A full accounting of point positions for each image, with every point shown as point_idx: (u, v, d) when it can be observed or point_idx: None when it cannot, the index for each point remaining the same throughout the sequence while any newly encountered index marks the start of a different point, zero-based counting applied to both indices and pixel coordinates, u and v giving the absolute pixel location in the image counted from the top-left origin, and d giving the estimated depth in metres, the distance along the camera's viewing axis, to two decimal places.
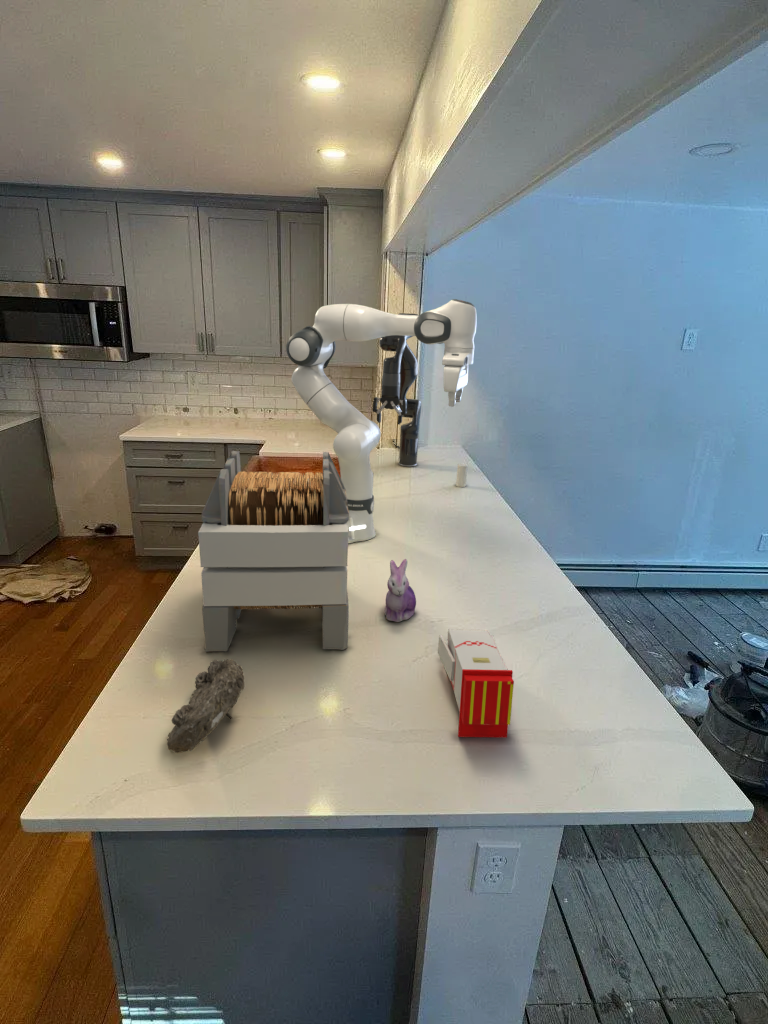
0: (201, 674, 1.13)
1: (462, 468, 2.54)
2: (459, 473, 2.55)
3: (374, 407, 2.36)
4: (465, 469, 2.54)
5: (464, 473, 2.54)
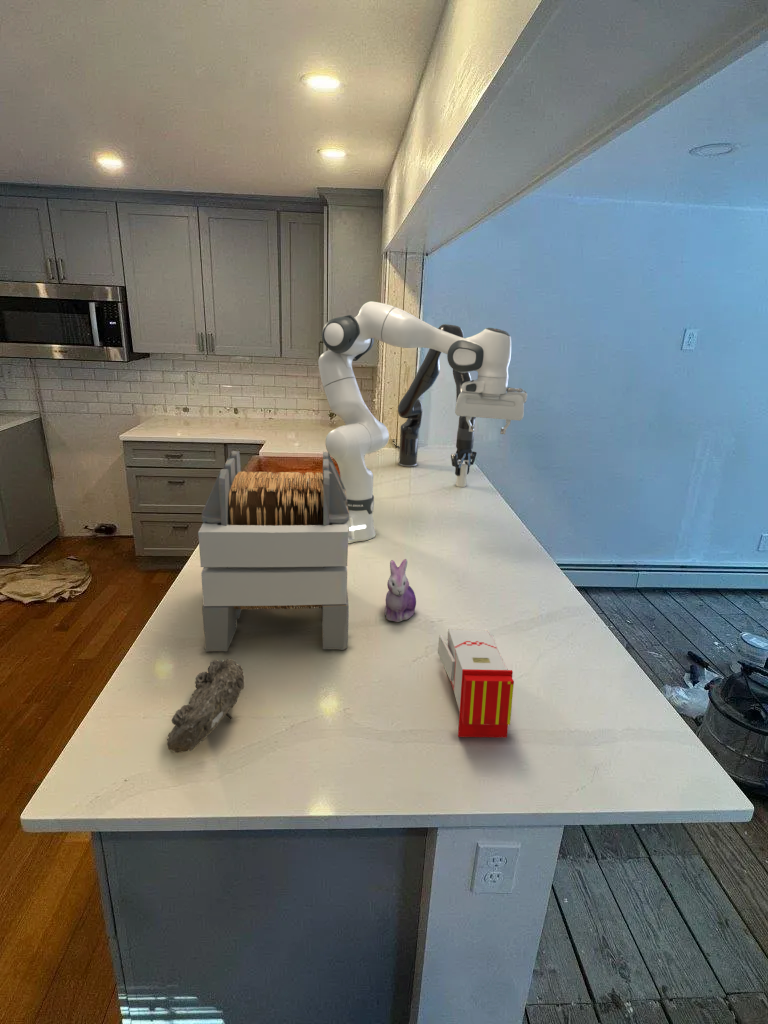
0: (201, 674, 1.13)
1: (462, 468, 2.54)
2: None
3: None
4: (465, 469, 2.54)
5: (464, 473, 2.54)
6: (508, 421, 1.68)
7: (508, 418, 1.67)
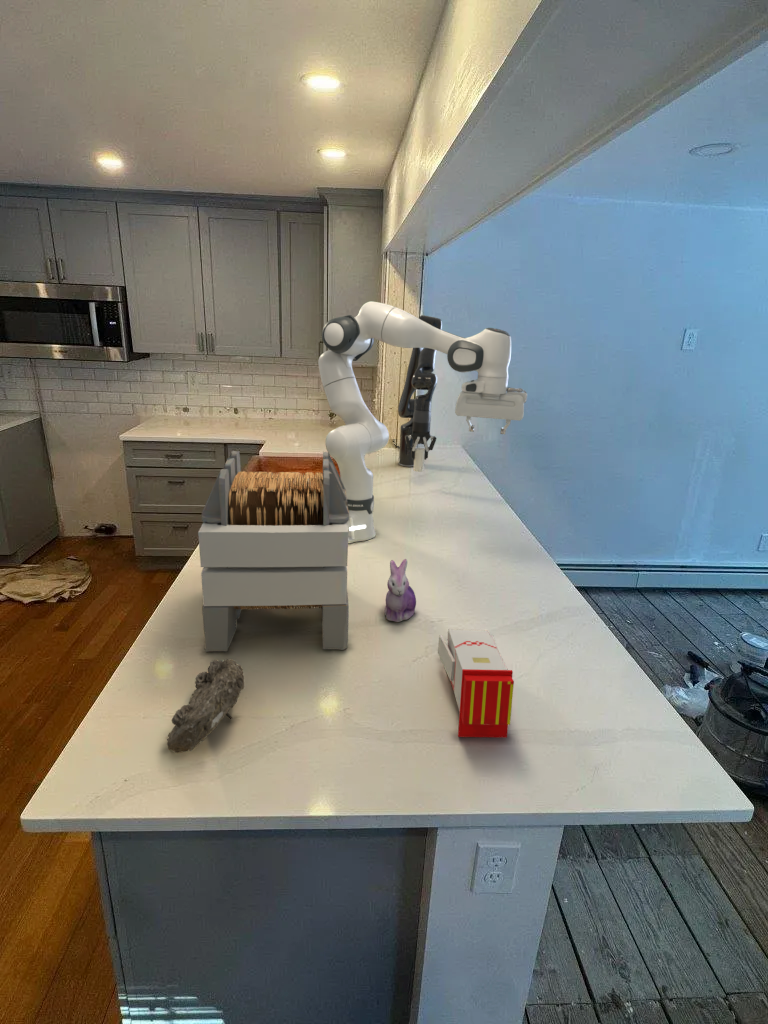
0: (201, 674, 1.13)
1: (416, 452, 2.45)
2: None
3: None
4: (420, 453, 2.45)
5: (418, 457, 2.45)
6: (508, 421, 1.68)
7: (508, 418, 1.67)
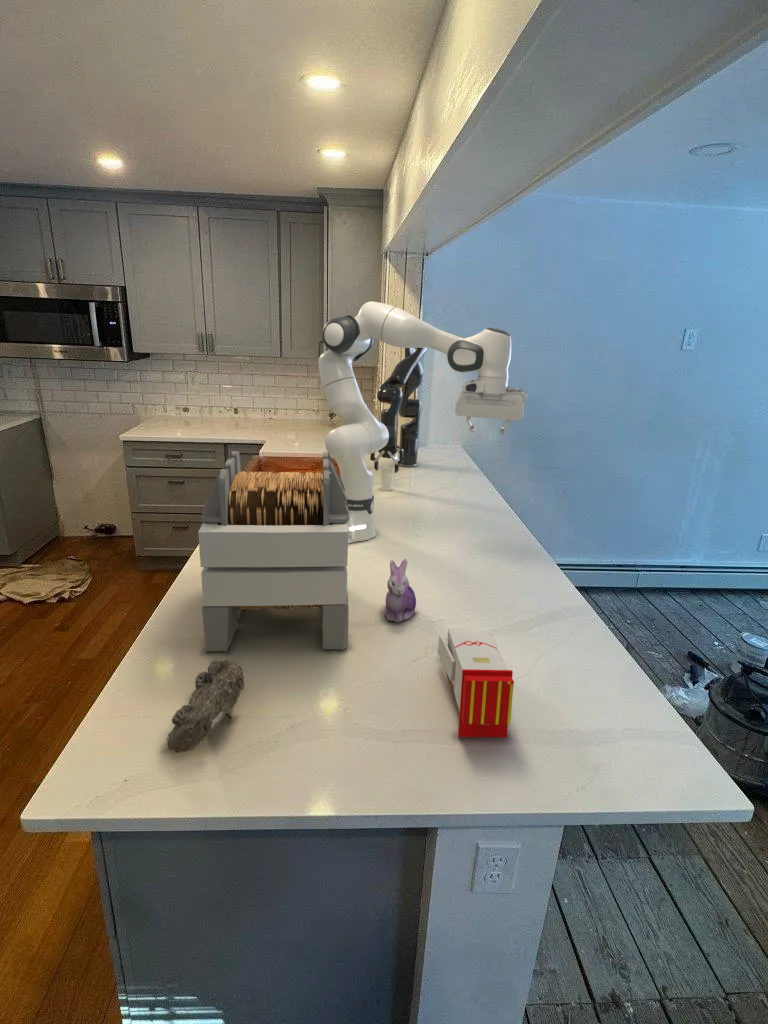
0: (201, 674, 1.13)
1: (382, 470, 2.44)
2: (381, 475, 2.46)
3: None
4: (384, 472, 2.44)
5: (383, 476, 2.45)
6: (508, 421, 1.68)
7: (508, 418, 1.67)
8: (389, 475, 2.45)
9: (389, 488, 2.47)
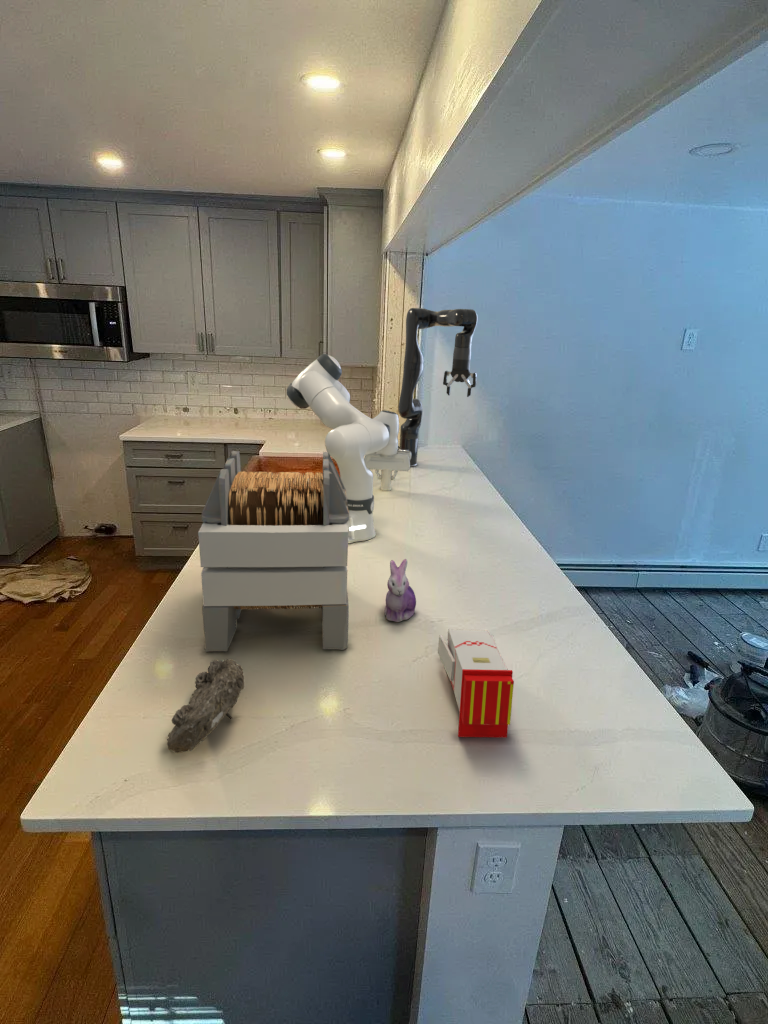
0: (201, 674, 1.13)
1: (382, 470, 2.44)
2: (381, 475, 2.46)
3: None
4: (384, 472, 2.44)
5: (383, 476, 2.45)
6: (396, 471, 2.44)
7: (399, 470, 2.43)
8: (389, 475, 2.45)
9: (389, 488, 2.47)
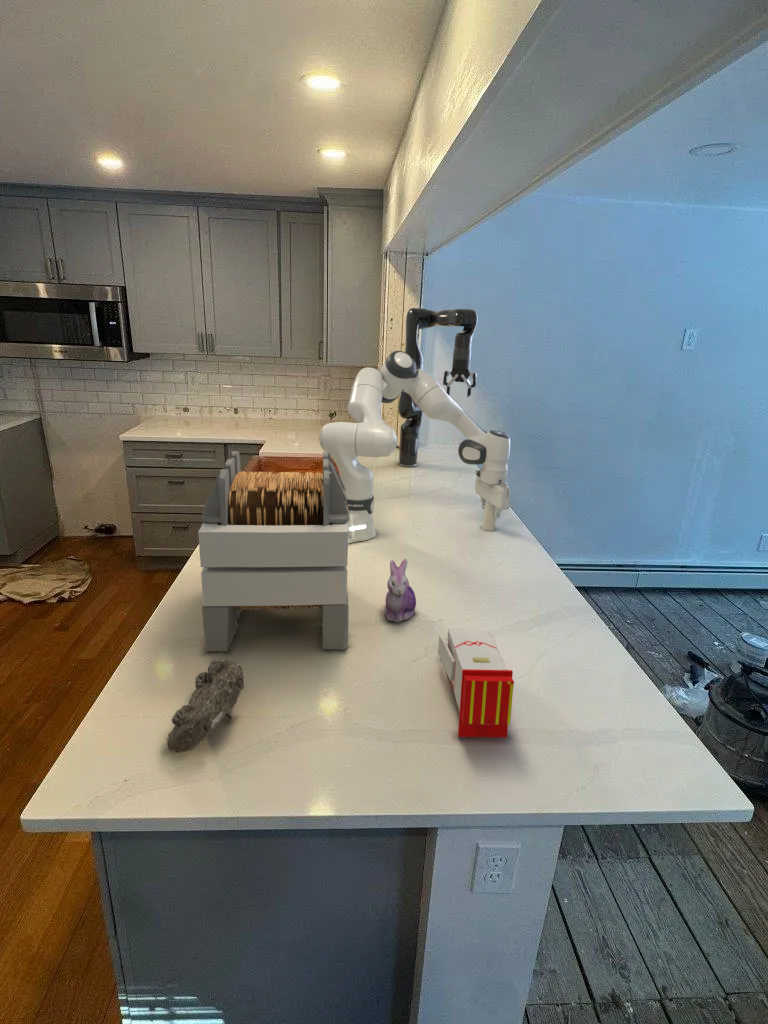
0: (201, 674, 1.13)
1: None
2: None
3: None
4: (485, 507, 2.06)
5: (484, 511, 2.07)
6: (496, 508, 2.00)
7: (495, 505, 1.99)
8: (488, 512, 2.05)
9: (487, 528, 2.07)
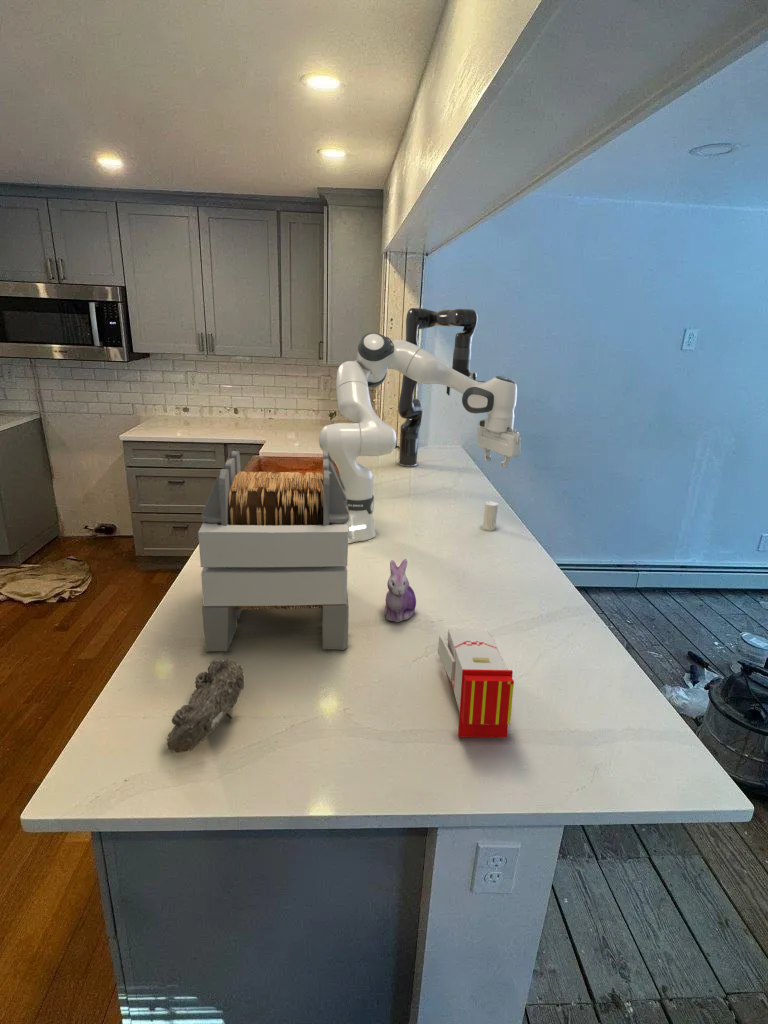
0: (201, 674, 1.13)
1: None
2: None
3: None
4: (485, 507, 2.06)
5: (484, 511, 2.07)
6: (505, 456, 1.94)
7: (504, 454, 1.93)
8: (488, 512, 2.05)
9: (487, 528, 2.07)
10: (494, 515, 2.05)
